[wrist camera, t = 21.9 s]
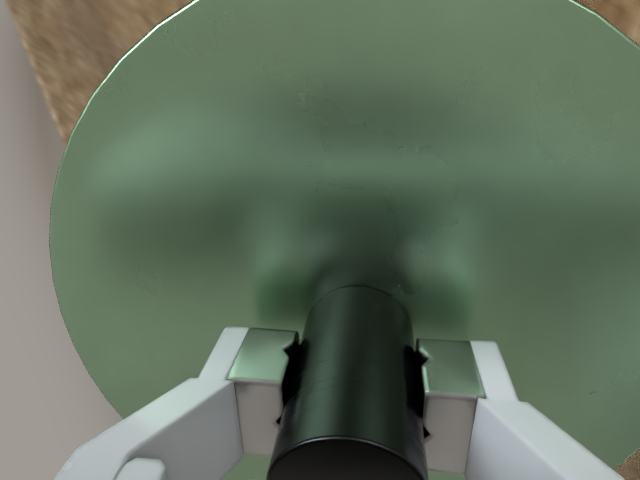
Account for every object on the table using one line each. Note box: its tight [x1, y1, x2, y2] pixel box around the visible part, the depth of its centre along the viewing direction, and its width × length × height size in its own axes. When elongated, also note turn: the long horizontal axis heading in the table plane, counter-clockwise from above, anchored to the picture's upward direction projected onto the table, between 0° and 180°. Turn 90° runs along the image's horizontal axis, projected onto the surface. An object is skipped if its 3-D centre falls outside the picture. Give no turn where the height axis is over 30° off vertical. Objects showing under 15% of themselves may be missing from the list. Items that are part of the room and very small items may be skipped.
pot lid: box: [49, 0, 640, 480], centre depth 9 cm, size 15×15×5 cm
